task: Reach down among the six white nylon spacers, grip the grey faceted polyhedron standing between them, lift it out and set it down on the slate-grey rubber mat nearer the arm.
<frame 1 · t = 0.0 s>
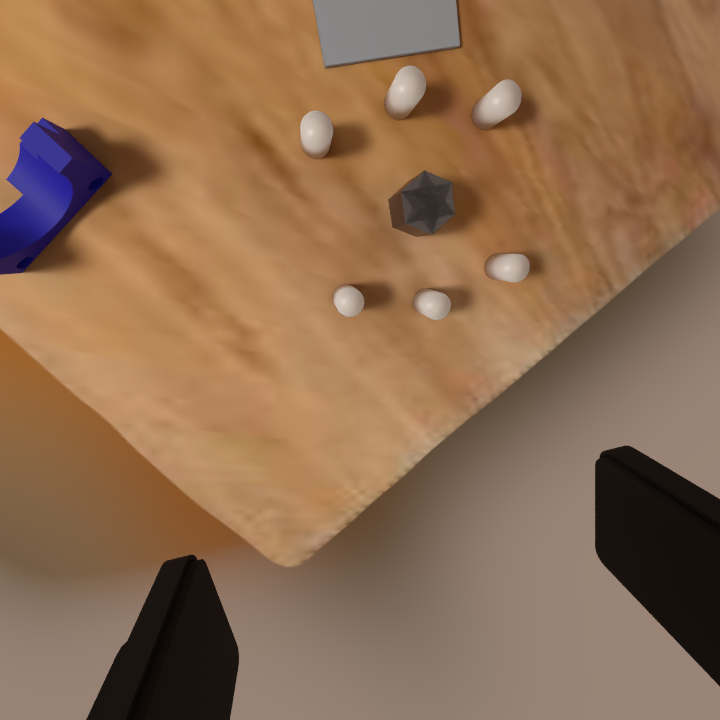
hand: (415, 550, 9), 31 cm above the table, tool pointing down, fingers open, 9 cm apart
grey faceted polyhedron: (412, 209, 37), on the table
cable clip: (45, 204, 33), on the table
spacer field: (412, 209, 37), on the table
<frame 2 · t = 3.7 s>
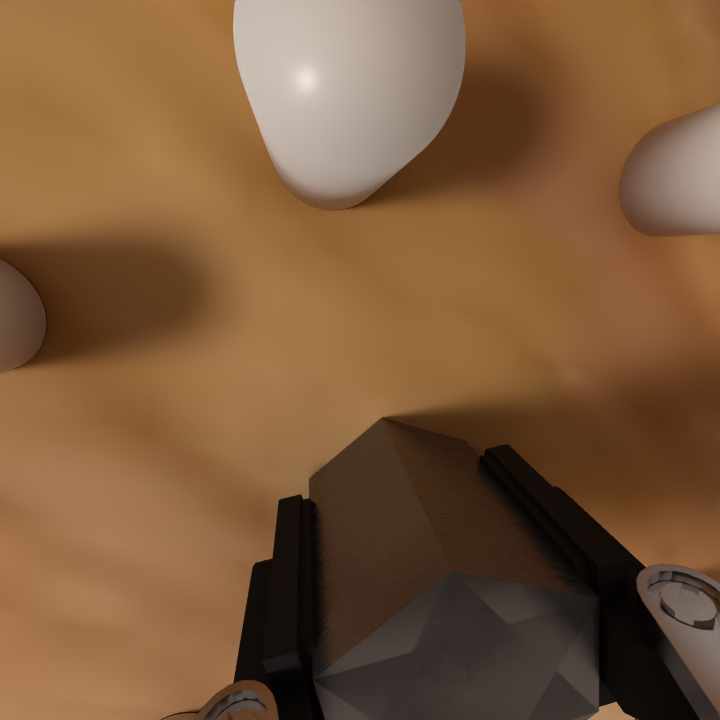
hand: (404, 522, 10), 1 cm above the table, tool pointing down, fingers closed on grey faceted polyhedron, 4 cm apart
grey faceted polyhedron: (395, 498, 11), on the table, touching gripper
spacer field: (395, 498, 11), on the table
when the fingers open (3 cm above the table, at t = 10.7 s): grey faceted polyhedron drops 1 cm, resting on mat.
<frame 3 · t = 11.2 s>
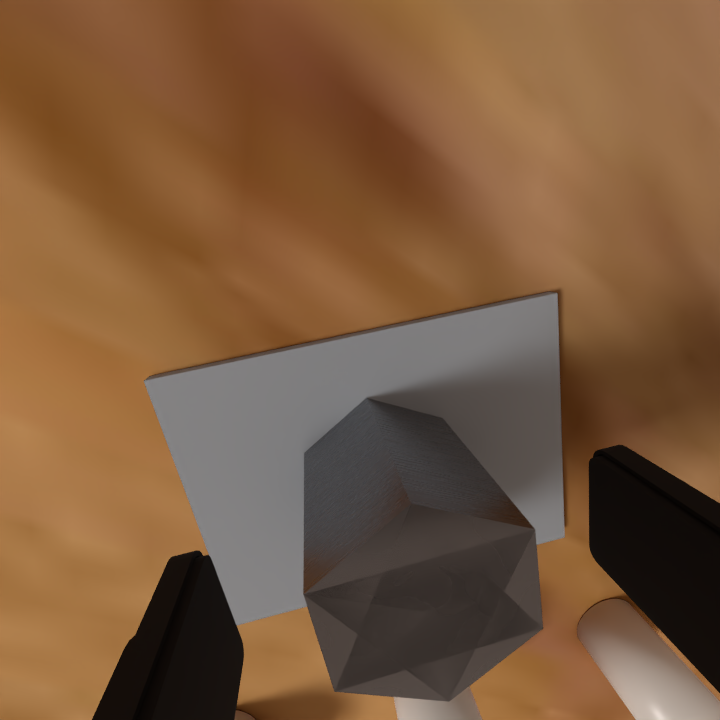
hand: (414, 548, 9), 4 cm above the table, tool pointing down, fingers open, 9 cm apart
mat: (383, 464, 12), on the table
grey faceted polyhedron: (381, 470, 12), resting on mat
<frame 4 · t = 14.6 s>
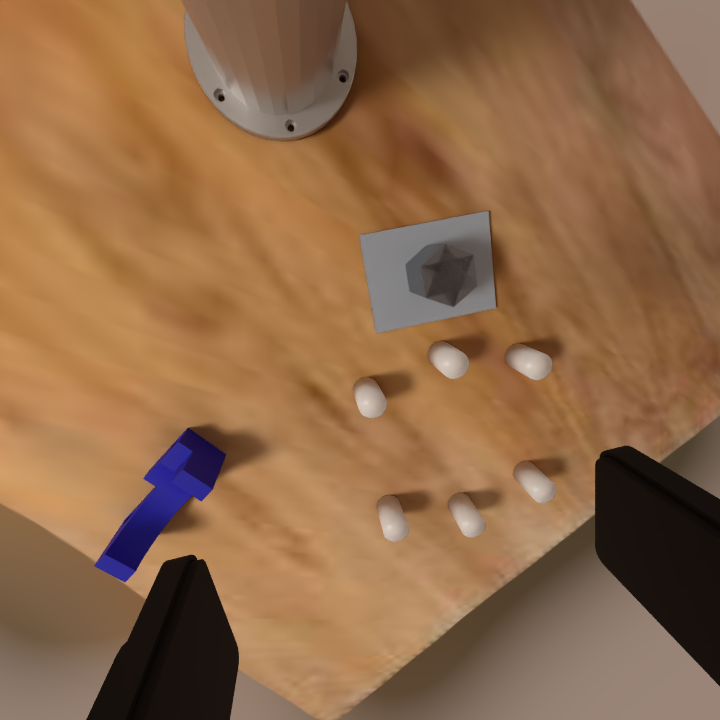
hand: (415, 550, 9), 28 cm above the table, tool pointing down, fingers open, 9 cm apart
mat: (429, 273, 36), on the table
grey faceted polyhedron: (430, 273, 35), resting on mat
cable clip: (169, 481, 38), on the table
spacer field: (450, 433, 41), on the table
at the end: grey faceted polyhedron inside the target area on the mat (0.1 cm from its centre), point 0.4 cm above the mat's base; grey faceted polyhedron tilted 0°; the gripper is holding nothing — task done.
